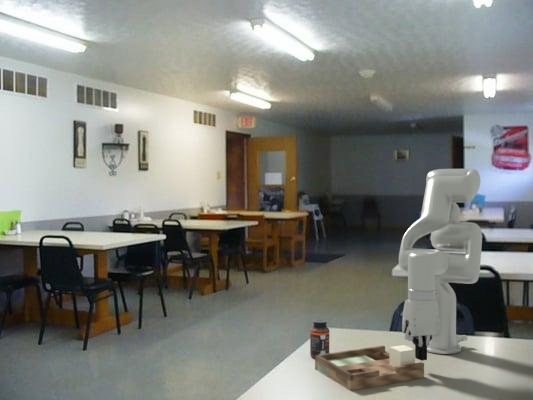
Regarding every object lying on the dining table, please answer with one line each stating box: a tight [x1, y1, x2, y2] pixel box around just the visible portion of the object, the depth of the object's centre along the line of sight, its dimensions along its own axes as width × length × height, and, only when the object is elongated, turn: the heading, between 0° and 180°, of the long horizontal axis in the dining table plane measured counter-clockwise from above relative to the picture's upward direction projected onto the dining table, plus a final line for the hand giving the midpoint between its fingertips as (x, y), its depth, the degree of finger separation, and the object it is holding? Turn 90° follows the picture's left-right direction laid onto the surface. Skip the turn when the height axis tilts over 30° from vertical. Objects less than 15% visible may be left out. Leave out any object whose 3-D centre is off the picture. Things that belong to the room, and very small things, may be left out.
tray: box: [314, 345, 425, 392], centre depth 159 cm, size 24×19×4 cm
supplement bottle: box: [309, 319, 330, 359], centre depth 174 cm, size 6×6×11 cm
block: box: [388, 344, 416, 367], centre depth 158 cm, size 5×5×5 cm
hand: (421, 358), depth 160 cm, fingers closed
